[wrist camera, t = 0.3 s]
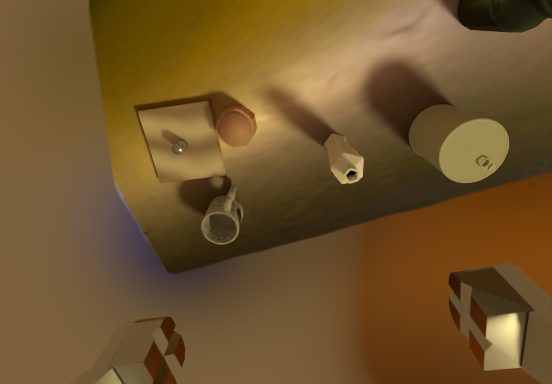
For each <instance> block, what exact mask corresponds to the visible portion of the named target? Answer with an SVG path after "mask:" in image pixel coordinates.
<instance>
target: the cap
mask: <svg viewBox="0 0 552 384" xmlns="http://www.w3.org/2000/svg"><path fill="white" fill-rule="evenodd" d="M253 114H254V113H253V112H251V111H250V110H249V109H247V108H246V107H245V106H242V105H237V106H230V107H228V108H226V109H225V110H224V111H223V112H222V114H221V116H220V117H219V119H218V120H217V122H216V129H217V133H218V138H220V137H221V138H220V140H222V141H223V142H224V143H226V144H227V145H229V146H230V147H231V146H232V147H239V146H246V145H247V144H248V143H249V141H250V140H251V138H252V137H253V136H254V134H255V132H256V129H257V126H256V120H255V115H253Z"/></svg>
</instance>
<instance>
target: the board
mask: <svg viewBox="0 0 552 384" xmlns="http://www.w3.org/2000/svg"><path fill="white" fill-rule="evenodd" d="M138 114H139V117H140V121H141V124H142V127H143V130H144V133H145V136H146V139H147V142H148V145H149V149H150V152H151V155H152V158H153V161H154V164H155V167H156V170H157V173H158V177H159V180H160V183H167V182H175V181H183V180H191V179H199V178H207V177H215V176H223V175H225V174H226V171H225V166H224V162H223V157H222V153H221V149H220V144H219V140H218V135H217V131H216V126H215V122H214V117H213V113H212V109H211V104H210V100H207V101H200V102H193V103H186V104H180V105H173V106H166V107H159V108H153V109H146V110H140V111H138ZM179 140H185V141H187V143H188V148H187V149H186V150H185V151H184V152H183V153H182V154H180V155H176V154H174V153H173V151H172V146H173V145H175V144H176V143H177V142H178V141H179Z"/></svg>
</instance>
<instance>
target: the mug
mask: <svg viewBox="0 0 552 384" xmlns="http://www.w3.org/2000/svg"><path fill="white" fill-rule="evenodd" d="M236 187H237V186H236V185H231V187H230V190H229V192H228V193H227V195H220V196H217V197H216V198H214V199H213V200H212V202H211V203H210V205H209V207H208V209H207V211H206V213H205V215H204V217H203V219H202V222H201V231H202V234H203V235H204V237H205V238H206V239H208V240H209V241H210V242H213V243H216V244H227V243H230V242H232V241H233V240H234V239H235V238H236V237H237V235H238V232H239V228H240V224H241V221H242V217H243V206H242V204H241V203H240V201H239V200H238V199H236V198H235V191H236Z"/></svg>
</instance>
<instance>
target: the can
mask: <svg viewBox="0 0 552 384" xmlns="http://www.w3.org/2000/svg"><path fill="white" fill-rule="evenodd" d="M409 143H410V146H411V148H412V149H413V151H414V152H415V153H416V154H418V155H419V156H421V157H423V158H425V159H426V160H427V161H429V162H430V163H431V164H433V165H434V166H435V167H436V168H437V169H439V170H440V171H441V172H442V173H443V174H444V175H445V176H446V177H448V178H449V179H451V180H453V181H456V182H460V183H471V182H476V181H479V180H482V179H484V178H486V177H487V176H489V175H490V174H492V173H493V172H494V171H496V170H497V169H498V167H499V166H500V165H501V164H502V162H503V161H504V159H505V157H506V155H507V152H508V148H509V138H508V134H507V132H506V130H505V129H504V127H503V126H502V125H501V124H499V123H498V122H496V121H494V120H492V119H487V118H483V117H480V116H477V115H473V114H470V113H468V112H465V111H462V110H459V109H457V108H455V107H453V106H451V105H447V104H439V105H434V106H431V107H429V108H427V109H425V110H423V111H422V112H421V113H420V114H419V115H418V116H417V117H416V118H415V119H414V121H413V122H412V124H411V127H410V130H409Z"/></svg>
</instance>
